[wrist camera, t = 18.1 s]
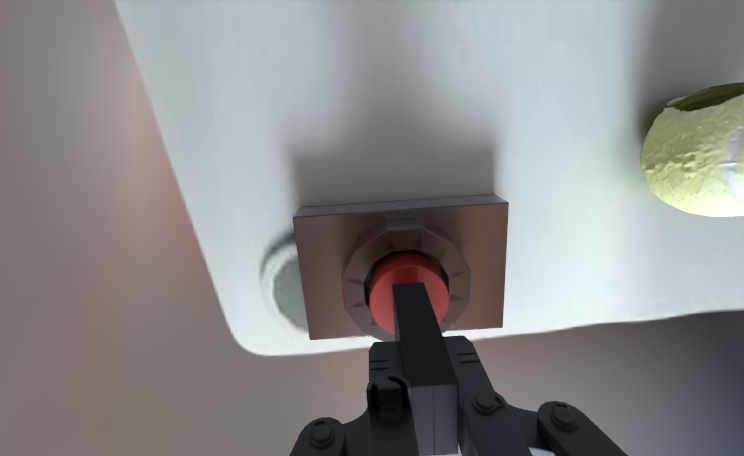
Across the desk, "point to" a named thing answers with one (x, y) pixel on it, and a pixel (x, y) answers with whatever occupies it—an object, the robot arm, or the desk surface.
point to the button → (405, 271)
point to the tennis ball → (699, 152)
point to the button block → (396, 236)
